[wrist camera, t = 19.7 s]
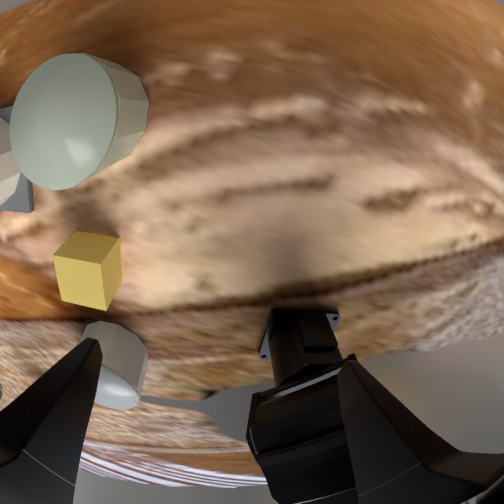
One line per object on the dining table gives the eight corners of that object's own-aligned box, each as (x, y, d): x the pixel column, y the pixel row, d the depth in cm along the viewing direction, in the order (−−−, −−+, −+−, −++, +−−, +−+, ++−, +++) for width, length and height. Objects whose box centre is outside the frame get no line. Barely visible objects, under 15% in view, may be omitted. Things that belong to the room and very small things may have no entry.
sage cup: (142, 169, 17) (110, 193, 12) (56, 166, 16) (11, 188, 11) (156, 62, 13) (126, 45, 9) (63, 70, 12) (16, 66, 8)
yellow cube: (122, 280, 21) (106, 310, 17) (81, 272, 20) (62, 300, 17) (120, 236, 19) (100, 264, 16) (77, 230, 19) (52, 255, 15)
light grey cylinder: (150, 374, 27) (142, 415, 22) (91, 361, 26) (78, 398, 21) (144, 329, 24) (131, 375, 19) (76, 315, 22) (55, 355, 18)
